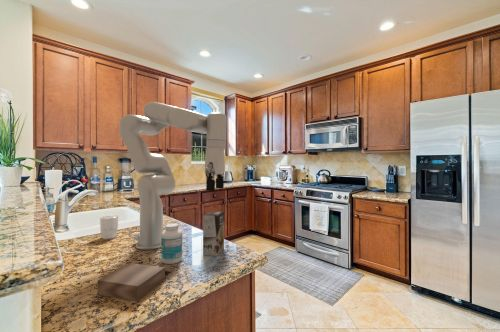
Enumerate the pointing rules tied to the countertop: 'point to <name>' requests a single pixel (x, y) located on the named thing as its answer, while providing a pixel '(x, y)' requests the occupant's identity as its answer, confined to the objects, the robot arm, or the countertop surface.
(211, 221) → the coffee box
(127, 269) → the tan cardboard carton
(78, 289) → the countertop surface
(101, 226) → the white cup
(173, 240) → the pill bottle
